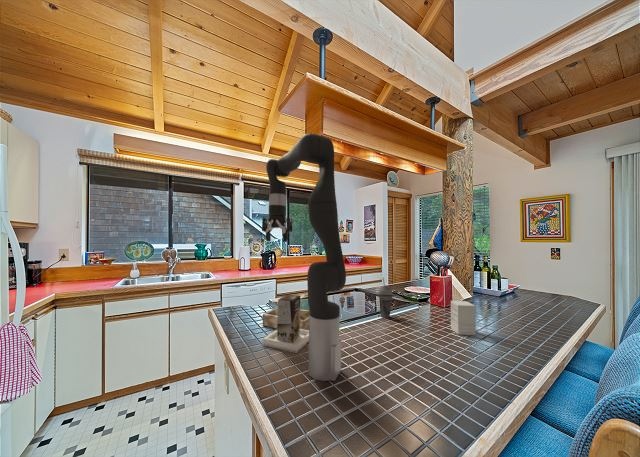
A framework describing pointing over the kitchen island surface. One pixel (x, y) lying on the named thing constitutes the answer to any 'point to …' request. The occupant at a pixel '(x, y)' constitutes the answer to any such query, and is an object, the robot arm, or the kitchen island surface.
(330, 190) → the robot arm
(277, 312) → the metal tin
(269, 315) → the wooden holder
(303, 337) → the plastic tray
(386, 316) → the beverage cup
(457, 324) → the supplement box
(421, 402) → the kitchen island surface
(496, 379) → the kitchen island surface
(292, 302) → the coffee box
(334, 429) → the kitchen island surface
